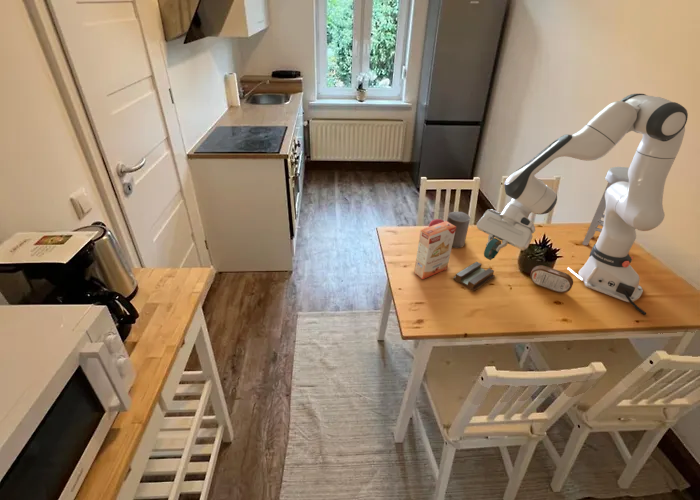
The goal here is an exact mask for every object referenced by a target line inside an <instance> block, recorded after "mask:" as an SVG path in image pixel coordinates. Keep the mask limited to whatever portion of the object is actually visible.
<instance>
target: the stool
mask: <svg viewBox="0 0 700 500" xmlns="http://www.w3.org/2000/svg"><path fill="white" fill-rule="evenodd" d="M628 169H629V167H627V166H613V167H610V168H609V169H608V170H607V173H606V175H605V177H604V179H605V181H607V185H606V187H605V189H604V192H603V194H602V196H601V199H600V200H599V203H598V205H597V208H596V210H595V213H594V215H593V217H592V219H591V221H590V225H589V227H588V229H587V231H586V234H585V236H584V239H583V241H582V243H581V244H582V245H583V246H588V245H589V244H590V241H591V239H593V238H594V236H595V234H596V232H600V233H601V231H602V228H600V227H599V226H601V227H603V224H604V220H602V218H603V219H604V218H605V210H606V200H605V192H606V190H607V189H608V188H609V187H610V186H611V185H612V184H614V183H616V182H621V181H624V182H628V183H629V178H628Z"/></svg>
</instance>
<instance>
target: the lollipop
mask: <svg viewBox="0 0 700 500" xmlns="http://www.w3.org/2000/svg"><path fill="white" fill-rule="evenodd" d="M442 222H445V220H443V219H441V218H434V219H433V220H431V221H430V222H429V224H428V227H430V226H433V225H436V224H439V223H442Z"/></svg>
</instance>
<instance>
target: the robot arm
mask: <svg viewBox="0 0 700 500" xmlns="http://www.w3.org/2000/svg"><path fill="white" fill-rule="evenodd" d="M688 114H689V113H688V110H687V109H686V107H684V106H683V105H682V104H680V103H678V102H674V101H671V100H669V99H667V98H664V97H661V96H654V95H648V94H646V93H631V94H629V95H626V96H624V97H623V98H622V99H621V100H616V101H613V102H611V103H609V104H608V105H606V106H605V107H603V108H602V109H601V110H600V111H599V112H597V113H596V114H595V115H594V116H593V117H592V118H591V119H589V121H588V122H587V123H586V124H585V125H584V126H583V127H582V128H581V129H580V130H578V131H576V132H574V133H572V134H563V135H562V136H560V137H558V138H557V139H555V140H554V141H553V142H551V143H549V145H547V146H546V147H544V149H543V150H541V151H540V152H539V153H537V154H536V155H535V156H533V158H531V159H530V160H529V161H528V162H526V163H525V164H524V165H522V166H521V167H519V168H518V169H516V170H515V171H514V172H512V173H511V174H510V175H509V176H508V177H507V178H506V179H505V181H504V185H503V186H504V191H505V195H507V196H508V197H510V198H511V200H510V201H509V202H508V203H507V204H506V205H505V207H504V208H503V210H502V211H498V210H495V209H487V210H485V212H484V213H483V215H482V216H481V217H480V218H479V220H478V221H477V222H476V228H477V230H479V231H480V232H483V233H485V234H487V235H488V236H487V242H486V244H485V247H486V246H487V245H488V243H489V242H490V241H491V240H492V239H494V238H496V239H498V240H500V241H501V245H499V246H498V245H496V246H495V248H494V250H495V251H497V252H498V253H500V251H501V249H503V248H505V247H507V245H510V246H512V247H515V248H516V249H519V250H521V251H525V250H527V249H528V247H529V246H530V244H531V242H532V240H533V237H534V236H533V234H535V232H536V226H535V224H534V222H533V221H532V220H530V219H529V216H530V214H531V213H532V214H534V215H545V214H549V213H550V212H551V211H552V210H554V208H555V206H556V204H557V203H558V194H557V192H555V191H554V189H552V188H551V187H549V186H548V185H547V184H546V183H545V182H544V181H543V180H542V179H541V178H538V177H536V174H538V173H539V172H540V171H542V170H543V169H544V168H545V167H547V166H548V165H549V164H551V162H553V161H554V160H556V159H558V158H563V157H566V158H571V159H572V158H573V159H575V160H580V161H584V162H585V161H587V162H589V161H590V162H592V161H597V160H600V159H602V158H603V157H605V156H607V154H608V153H609V152H610V151H612V149H613V148H615V147H616V145H618V144H619V142H620V141H621V140H622V139H623V138H624V137H625V136H626V134H628V133H630V132H634V133H636V134H641V135H642V138H641V139H640V141H639V144H638V146H637V148H636V150H635V152H634V155H633V158H632V160H631V162H630V164H629V167H628V168H629V169H628V178H629V183H628V182H624V181H621V182H616V183H614V184H612V185H611V186H610V187H609V188H608V189H607V190H606V192H605V200H606V209H605V211H604V215H605V218H603V221H604V224H603V226H602V228H601V229H602V231H601V232H600V233H599V236H598V238H597V241H596V243H595V244H593V246H592V248H591V250H590V252H589V255H588V259H587V260H586V262H585V263H584V264H583V266H582V267H581V268H580V269H579V270H578V273H576V272H575V271H574V270H573V269H571V268H570V267H567V271H569V272H570V273H571V274H573V275H574V276H576V277H577V279H579V280H581V281H583V283H584V286H585V287H587V288H589V289H590V290H593V291H597V292H599V293H602V294H604V295H607V296H610V297H612V298H615V299H617V300H620V301H623V302H626V303H630V304H631V306H633V307H634V308H635V309H636V310H637V311H639V312H640V313H641V314H643V315H644V316H645V315H647V312H646V311H644V310H643V309H642V308H640V307H639V306H638V305H637V304H636V303H635V302H636V301H638V300H639V299H640V298H641V296H643V291H644V290H643V287H642V286H641V285H639V284H640V280H641V279H640V275H639V273H637V271H636V270H635V269H634V268H633V266H632V265H631V263H632V262H633V259H634V256H633V255H632V256H631V255H630V254H629V253H630V251H631V249H632V247H633V245H634V243H635V242H636V239H637V231H640V232H648V231H651V230H654V229H656V228H658V227H660V226H661V224H662V223H663V221H664V220H665V211H664V205H663V201H664V200H663V199H664V190H665V185H666V181H667V178H668V175H669V173H670V171H671V168H672V167H673V164H674V162H675V160H676V158H677V156H678V154H679V151H680V149H681V146H682V143H683V140H684V137H685V133H686V124H687V122H688V118H689V117H688V116H689V115H688Z"/></svg>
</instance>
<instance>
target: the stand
mask: <svg viewBox="0 0 700 500" xmlns="http://www.w3.org/2000/svg"><path fill="white" fill-rule="evenodd" d="M494 273H495V270H494V269H492V268H490V267H489V268H487V269H485V268H482V263H481V262H478V261H475V262H473V263H471V264H470V265H468V266H467V267H465V268H464V269H462V270H460V271H459V272H457V273H455V276H453V277H452V279H453V280H454V281H456V282H458V283H459V284H461V285H463V286H464V287H466V288H468V289H470V290H471V291H472V292H476V291H477V290H478V289H480V288H481V287H482V286H484V285H485V284H487V283H489V282H490V281H492V280H493V279H494V278H495V275H494Z"/></svg>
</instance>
